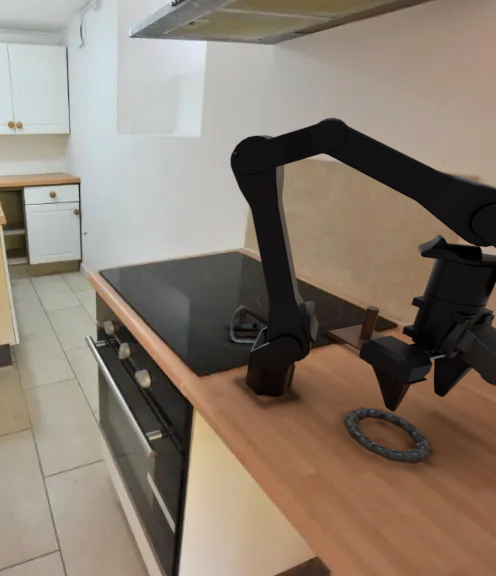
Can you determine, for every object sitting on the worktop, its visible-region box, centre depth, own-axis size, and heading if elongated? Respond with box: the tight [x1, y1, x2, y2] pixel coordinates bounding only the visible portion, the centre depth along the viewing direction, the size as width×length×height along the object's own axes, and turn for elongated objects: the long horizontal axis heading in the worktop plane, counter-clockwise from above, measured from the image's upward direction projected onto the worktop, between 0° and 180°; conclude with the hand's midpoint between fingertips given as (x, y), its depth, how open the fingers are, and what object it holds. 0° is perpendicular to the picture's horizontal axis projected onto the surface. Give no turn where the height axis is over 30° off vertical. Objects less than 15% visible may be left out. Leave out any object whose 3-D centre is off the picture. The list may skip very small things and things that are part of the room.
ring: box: [343, 406, 432, 464], centre depth 52 cm, size 10×10×2 cm
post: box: [327, 305, 386, 352], centre depth 74 cm, size 9×9×8 cm
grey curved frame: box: [229, 304, 268, 344], centre depth 78 cm, size 10×7×12 cm
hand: (415, 402), depth 51 cm, fingers open, 9 cm apart
